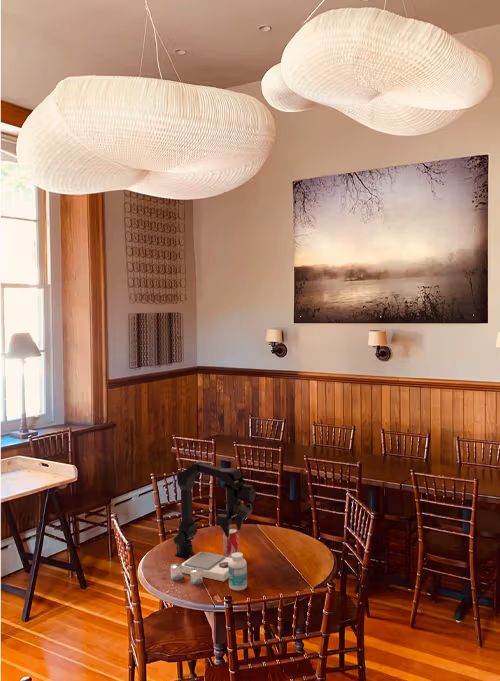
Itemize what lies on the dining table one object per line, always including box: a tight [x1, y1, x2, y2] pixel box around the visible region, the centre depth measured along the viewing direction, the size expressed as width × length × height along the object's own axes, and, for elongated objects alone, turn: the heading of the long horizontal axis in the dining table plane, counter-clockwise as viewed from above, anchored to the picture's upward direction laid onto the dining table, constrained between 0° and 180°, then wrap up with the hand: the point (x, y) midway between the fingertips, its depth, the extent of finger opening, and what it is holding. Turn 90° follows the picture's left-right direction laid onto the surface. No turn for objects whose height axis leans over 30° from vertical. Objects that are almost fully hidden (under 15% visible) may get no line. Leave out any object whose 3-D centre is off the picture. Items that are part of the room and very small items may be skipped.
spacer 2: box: [189, 568, 204, 586], centre depth 253 cm, size 5×5×5 cm
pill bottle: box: [228, 551, 248, 591], centre depth 247 cm, size 8×7×14 cm
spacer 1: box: [170, 563, 184, 581], centre depth 258 cm, size 5×5×5 cm
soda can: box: [222, 528, 240, 558], centre depth 278 cm, size 7×7×12 cm
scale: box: [181, 551, 232, 582], centre depth 265 cm, size 22×16×4 cm
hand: (233, 533), depth 268 cm, fingers open, 9 cm apart
